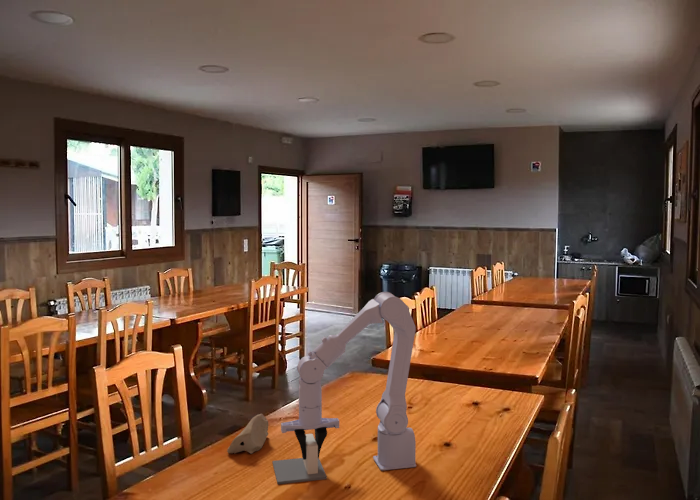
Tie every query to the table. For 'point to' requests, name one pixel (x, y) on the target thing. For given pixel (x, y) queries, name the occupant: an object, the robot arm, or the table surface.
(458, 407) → the table surface
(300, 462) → the mat
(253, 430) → the grey animal figurine
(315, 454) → the block
